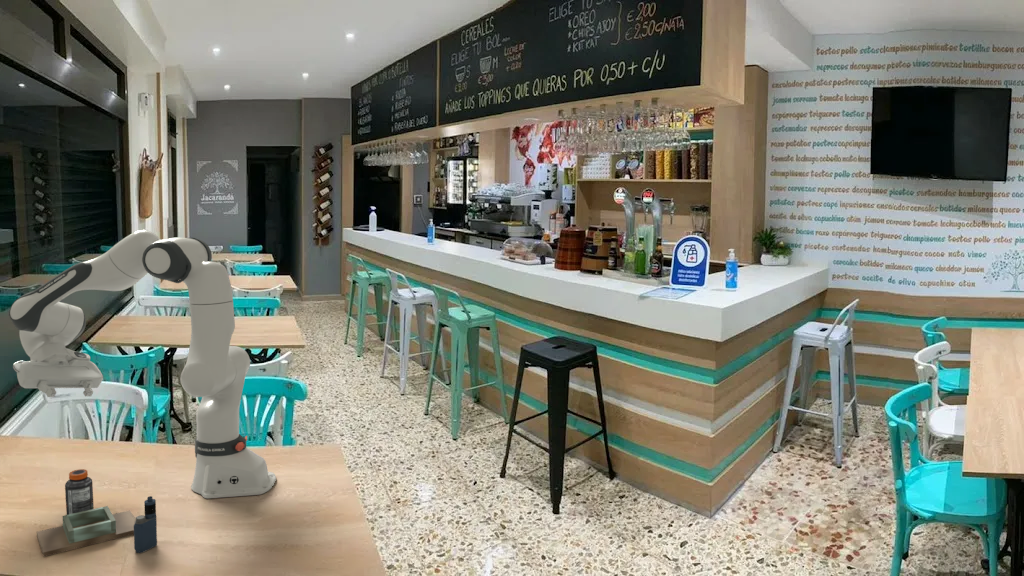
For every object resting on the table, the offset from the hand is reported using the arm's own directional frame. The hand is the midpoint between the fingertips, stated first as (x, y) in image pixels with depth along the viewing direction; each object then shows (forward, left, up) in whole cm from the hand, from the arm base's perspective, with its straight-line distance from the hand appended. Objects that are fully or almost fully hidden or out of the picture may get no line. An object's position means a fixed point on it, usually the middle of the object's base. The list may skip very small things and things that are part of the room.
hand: (71, 394), depth 186 cm
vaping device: (-31, +29, -28) cm, 51 cm away
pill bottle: (-7, +12, -28) cm, 31 cm away
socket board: (-15, +22, -28) cm, 39 cm away
